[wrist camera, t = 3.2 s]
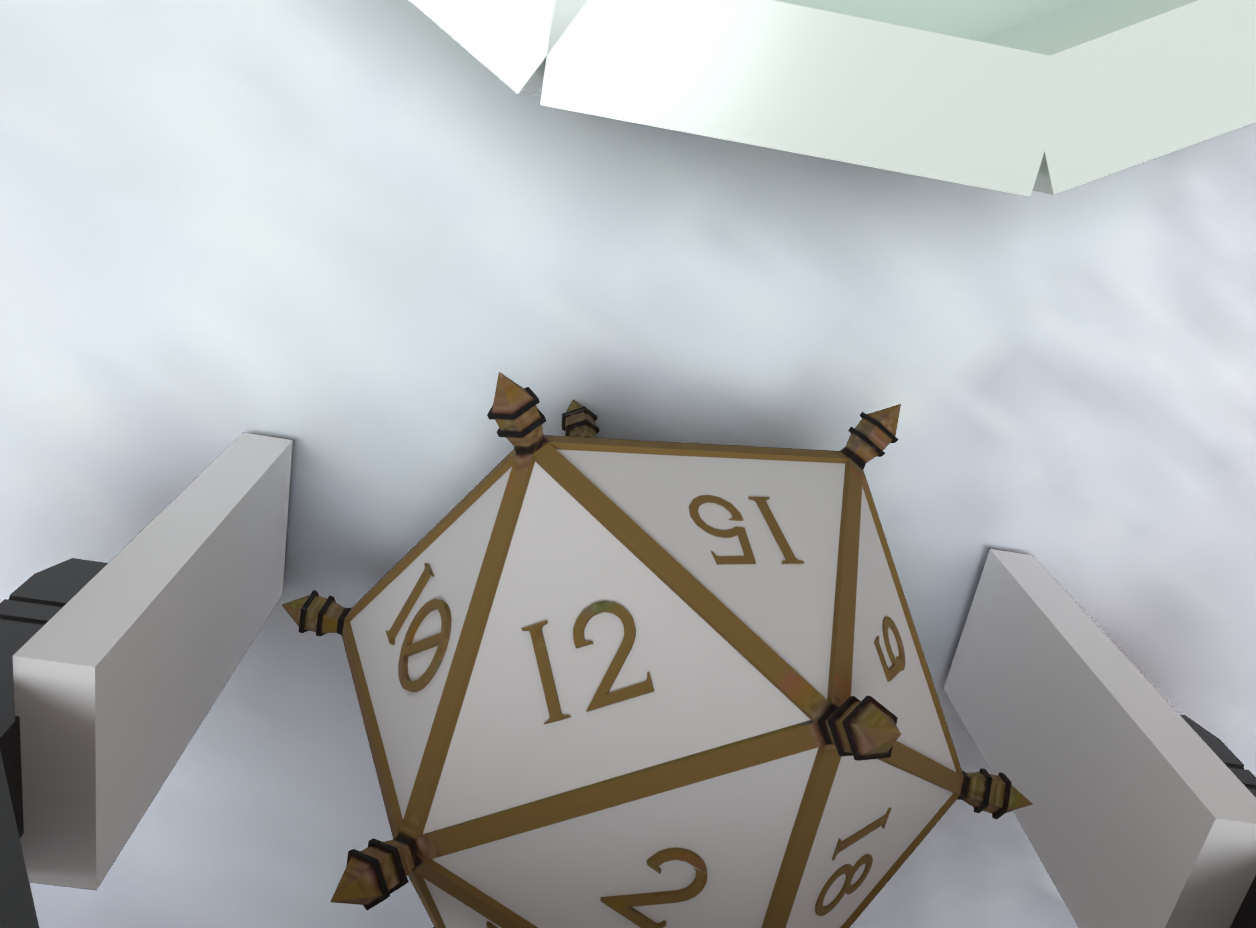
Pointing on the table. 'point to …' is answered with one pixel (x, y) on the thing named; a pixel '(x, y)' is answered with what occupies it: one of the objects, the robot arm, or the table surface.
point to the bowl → (891, 76)
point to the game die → (649, 690)
